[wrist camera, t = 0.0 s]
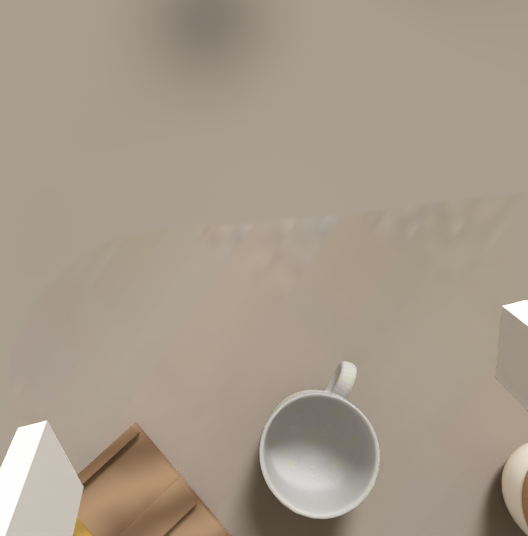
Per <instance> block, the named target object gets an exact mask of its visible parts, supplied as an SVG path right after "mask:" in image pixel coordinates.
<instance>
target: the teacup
mask: <svg viewBox="0 0 528 536" xmlns="http://www.w3.org/2000/svg"><path fill="white" fill-rule="evenodd" d="M356 376H357V369H356V366H355V365H354V364H352V363H350V362H347V361H342V362H341V363H339V365H338V366H337V368H336V369H335V371H334V373H333V375H332V377H331V379H330V381H329V383H328V385H327V387H326V388H325V390H324V391H322V390H305V391H300V392H297V393H294V394H292V395H290V396H288V397H287V398H285V399H284V400H283V401H281V402H280V403H279V404H278V405H277V406H276V407H275V409H274V410H273V411H272V413H271V414H270V416H269V418H268V420H267V422H266V425H265V427H264V430H263V432H262V435H261V440H260V446H259V461H260V467H261V470H262V474H263V477H264V479H265V482H266V484H267V486H268V487H269V489H270V490H271V492H272V493H273V495H274V496H275V497H276V498H277V499H278V500H279V501H280V502H281V503H282V504H283V505H284V506H286V507H287V508H288V509H290V510H291V511H293V512H295V513H296V514H299V515H302V516H305V517H308V518H313V519H330V518H335V517H338V516H342V515H343V514H346V513H348V512H350V511H351V510H353V509H354V508H356V507H357V506H358V505H359V504H361V503H362V502H363V501H364V499H365V498H366V497H367V496H368V494H369V493H370V492H371V490H372V488H373V486H374V484H375V482H376V480H377V475H378V473H379V472H378V469H379V464H380V449H379V444H378V440H377V437H376V434H375V431H374V429H373V427H372V425H371V424H370V422H369V420H368V419H367V418H366V416H365V415H364V414H363V413H362V412H361V411H360V410H359V409H358V408H357V407H355V406H354V405H353V404H351V403H350V402H348V401H347V398H348V396H349V394H350V392H351V390H352V388H353V386H354V383H355V380H356Z"/></svg>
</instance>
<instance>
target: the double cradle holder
mask: <svg viewBox="0 0 528 536" xmlns="http://www.w3.org/2000/svg"><path fill="white" fill-rule="evenodd" d="M77 476H78V478H79V479H80V481H81V483H82V485H83V487H84V488H83V492H82V497H81V501H80V506H79V510H78V515H77V519H76V524H75V528H74V533H73V534H74V536H231V535H230V534H229V533H228V531H227V530H226V529H225V528H224V527H223V525H222V524H221V523H220V522H219V521H218V519H217V518H216V517H215V516H214V515H213V513H212V512H211V511H210V510H209V509H208V507H207V506H206V505H205V504H204V503H203V502H202V500H201V499H200V498H199V497H198V496H197V494H196V493H195V492H194V491H193V490H192V488H191V487H190V486H189V485H188V484H187V482H186V481H185V480H184V479H183V478H182V476H181V475H180V474H179V473H178V472H177V471H176V469H175V468H174V467H173V466H172V465H171V463H170V462H169V461H168V460H167V459H166V457H165V456H164V455H163V454H162V453H161V451H160V450H159V449H158V448H157V447H156V446H155V444H154V443H153V442H152V441H151V440H150V438H149V437H148V436H147V435H146V434H145V432H144V431H143V430H142V429H141V428H140V426H139V425H138V424H137V423H135V424H134V425H132V426H131V427H130V428H129V429H128V430H127V431H125V432H124V433H123V434H122V435H121V436H120V437H119V438H118V439H117V440H116V441H114V442H113V443H112V444H111V445H110V446H109V447H108V448H107V449H106V450H105V451H103V452H102V453H101V454H100V455H99V456H98V457H97V458H96V459H95V460H94V461H92V462H91V463H90V464H89V465H88V466H87V467H86V468H85V469H84V470H83V471H81V472H80V473H79V474H78V475H77Z"/></svg>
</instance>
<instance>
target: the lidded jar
mask: <svg viewBox="0 0 528 536" xmlns="http://www.w3.org/2000/svg"><path fill="white" fill-rule="evenodd" d="M502 493H503V498H504V501H505V504H506V506H507V508H508V510H509V512H510V514H511V516H512V518H513V519H514V521H515V522H516V523H517V525H518V526H519V527H520V528H521V529H522V531H523V532H524V533H525V534H526V535H527V536H528V443H526V444H524V445H522V446H520V447H519V448H518V449H516V450H515V451H514V452H513V453H512V454H511V456H510V457H509V459H508V460H507V462H506V464H505V466H504V469H503V473H502Z"/></svg>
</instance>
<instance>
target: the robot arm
mask: <svg viewBox="0 0 528 536" xmlns="http://www.w3.org/2000/svg"><path fill="white" fill-rule="evenodd" d="M495 378H496V379H497V380H498V381H499V382H500V383H501V384H502V385H503V386H504V387H505V388H506V389H507V391H508V392H509V393H510V394H511V395H512V396H513V397H514V398H515V399H516V400H517V401H518V402H519V403H520V404H521V405H522V406H523V407H524V408H525V409H526V410H527V411H528V301H527V300H524V301H520V302H516V303H512V304H508V305H504V306H502V312H501V323H500V333H499V344H498V355H497V366H496V376H495ZM83 488H84V487H83V485H82V483H81V481H80V479H79V478H78V476H77V474H76V472H75V470H74V469H73V467H72V465H71V463H70V461H69V459H68V458H67V456H66V454H65V452H64V450H63V449H62V447H61V445H60V443H59V441H58V439H57V438H56V436H55V434H54V432H53V430H52V429H51V427H50V425H49V423H48V421H43V422H39V423H35V424H31V425H27V426H23V427H19V428H18V429H17V432H16V434H15V436H14V438H13V441H12V443H11V445H10V448H9V450H8V452H7V455H6V457H5V459H4V462H3V464H2V466H1V468H0V536H73V533H74V528H75V524H76V519H77V515H78V510H79V506H80V501H81V497H82V492H83Z"/></svg>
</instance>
